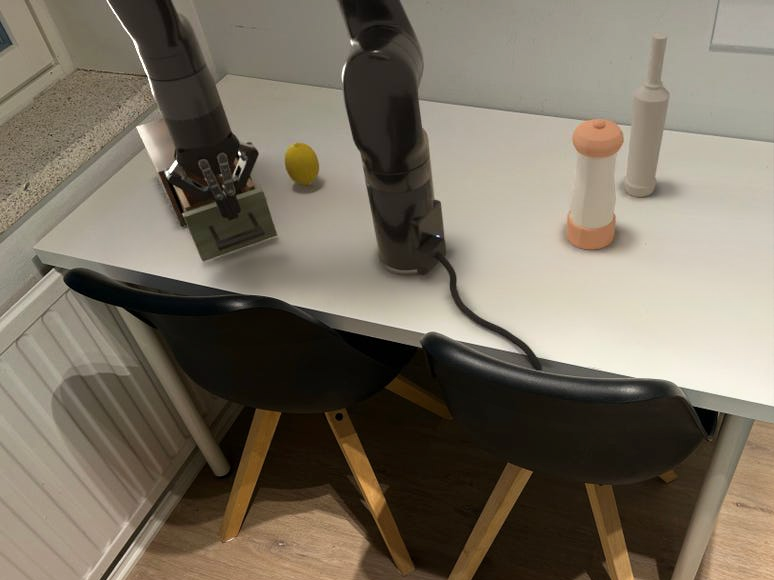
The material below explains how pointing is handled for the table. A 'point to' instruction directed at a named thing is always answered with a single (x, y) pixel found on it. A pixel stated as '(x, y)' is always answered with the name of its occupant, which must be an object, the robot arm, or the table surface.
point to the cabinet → (163, 159)
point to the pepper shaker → (594, 184)
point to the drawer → (226, 219)
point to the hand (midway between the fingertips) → (232, 216)
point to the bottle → (647, 125)
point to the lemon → (301, 163)
